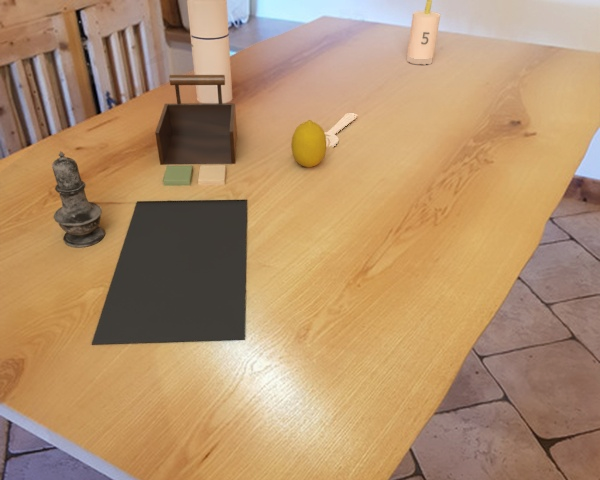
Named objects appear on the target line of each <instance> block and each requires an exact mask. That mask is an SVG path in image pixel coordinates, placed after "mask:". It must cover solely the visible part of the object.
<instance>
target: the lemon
mask: <svg viewBox="0 0 600 480" xmlns="http://www.w3.org/2000/svg"><path fill="white" fill-rule="evenodd" d="M326 136H327V135H326V134H325V131H324V129H323V127H321V125H320V124H318V123H317V122H314V121H313V120H311V119H308V120H307V121H305V122H302V123H300V124H299V125H298V126H297V127H296V128H295V129H294V131H293V134H292V137H291V145H290V146H291V152H292V156H293V158H294V160H295V161H296V163H298V164H299V165H300V166H303V167H305V168H312V167H315V166H317V165H319V164H320V163H321V162H322V161H323V159H324V157H325V155H326V152H327V147H326V139H327V138H326Z"/></svg>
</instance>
